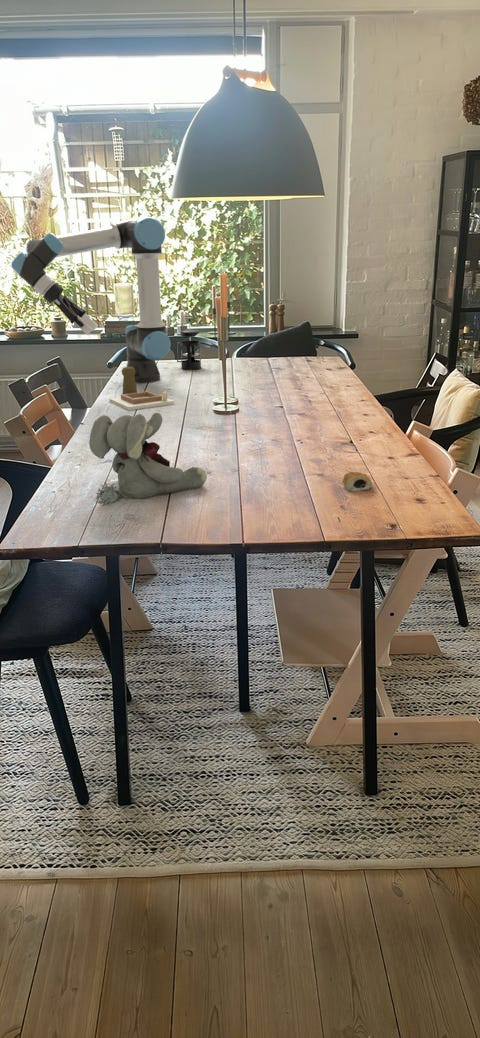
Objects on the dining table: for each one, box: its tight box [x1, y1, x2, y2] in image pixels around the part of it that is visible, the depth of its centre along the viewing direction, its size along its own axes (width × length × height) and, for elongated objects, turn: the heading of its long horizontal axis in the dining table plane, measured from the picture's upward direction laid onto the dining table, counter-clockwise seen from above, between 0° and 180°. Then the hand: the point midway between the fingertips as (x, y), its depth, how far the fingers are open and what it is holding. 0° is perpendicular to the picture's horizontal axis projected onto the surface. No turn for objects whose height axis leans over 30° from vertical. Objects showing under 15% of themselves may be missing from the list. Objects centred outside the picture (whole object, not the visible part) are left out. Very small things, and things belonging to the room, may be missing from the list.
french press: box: [175, 316, 202, 371], centre depth 350 cm, size 12×9×23 cm
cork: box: [121, 366, 138, 394], centre depth 296 cm, size 6×6×11 cm
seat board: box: [108, 390, 175, 411], centre depth 284 cm, size 18×18×4 cm
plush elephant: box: [89, 412, 208, 506], centre depth 185 cm, size 27×22×21 cm
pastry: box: [342, 471, 373, 492], centre depth 189 cm, size 9×7×4 cm
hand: (93, 330), depth 289 cm, fingers open, 13 cm apart
